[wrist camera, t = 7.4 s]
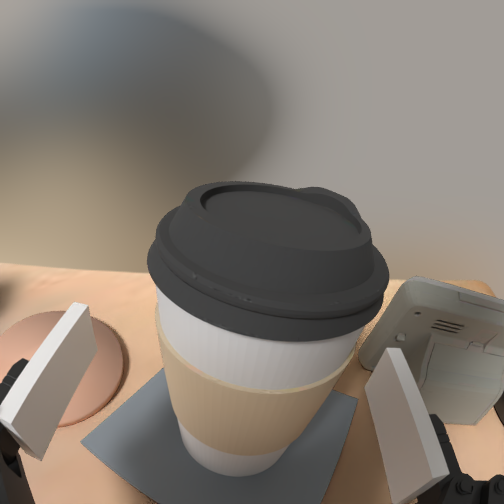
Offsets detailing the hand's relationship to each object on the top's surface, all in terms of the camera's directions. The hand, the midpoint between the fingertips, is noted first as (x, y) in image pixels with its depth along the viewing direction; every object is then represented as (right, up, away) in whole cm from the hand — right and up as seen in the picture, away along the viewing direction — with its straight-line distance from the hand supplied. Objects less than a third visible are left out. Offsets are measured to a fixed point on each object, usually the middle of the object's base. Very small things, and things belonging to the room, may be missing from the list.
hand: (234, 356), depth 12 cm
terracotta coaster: (-15, -4, +6) cm, 16 cm away
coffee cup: (0, -7, +5) cm, 9 cm away
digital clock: (+17, -8, +10) cm, 21 cm away
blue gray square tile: (-1, -7, +5) cm, 9 cm away
